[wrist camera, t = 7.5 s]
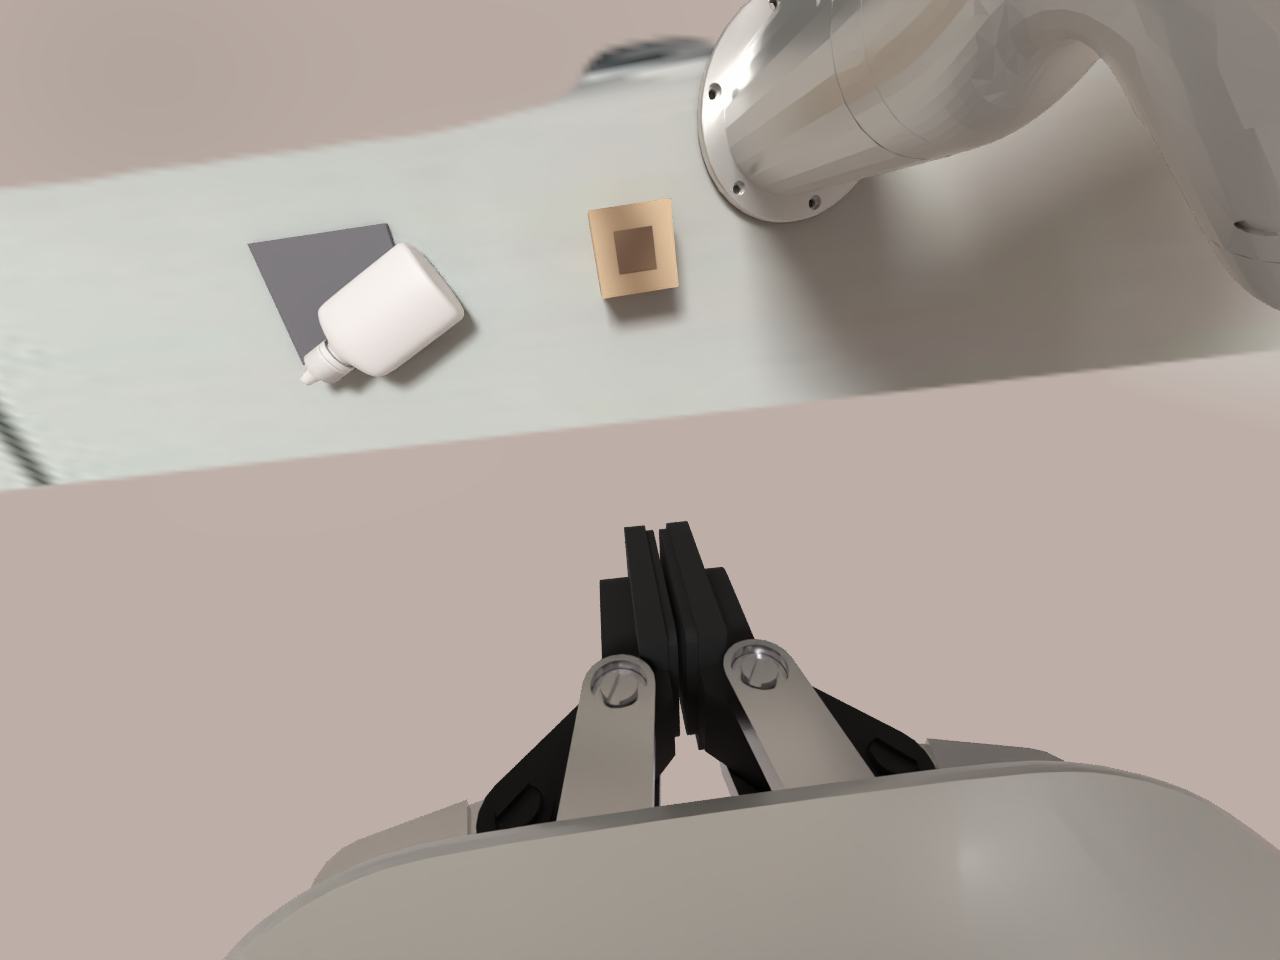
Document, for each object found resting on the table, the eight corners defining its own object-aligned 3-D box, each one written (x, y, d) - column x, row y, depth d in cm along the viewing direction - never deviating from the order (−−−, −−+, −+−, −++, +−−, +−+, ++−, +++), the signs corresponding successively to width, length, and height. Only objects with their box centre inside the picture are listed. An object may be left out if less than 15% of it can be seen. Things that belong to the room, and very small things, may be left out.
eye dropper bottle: (463, 298, 35) (343, 389, 37) (402, 231, 31) (269, 337, 32) (470, 324, 32) (339, 422, 34) (403, 254, 28) (257, 370, 30)
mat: (387, 223, 31) (384, 223, 31) (427, 344, 35) (425, 345, 35) (251, 244, 31) (247, 244, 31) (306, 363, 35) (303, 365, 34)
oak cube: (658, 205, 33) (670, 197, 28) (666, 281, 35) (679, 286, 30) (588, 216, 33) (588, 210, 28) (600, 292, 35) (602, 299, 30)
